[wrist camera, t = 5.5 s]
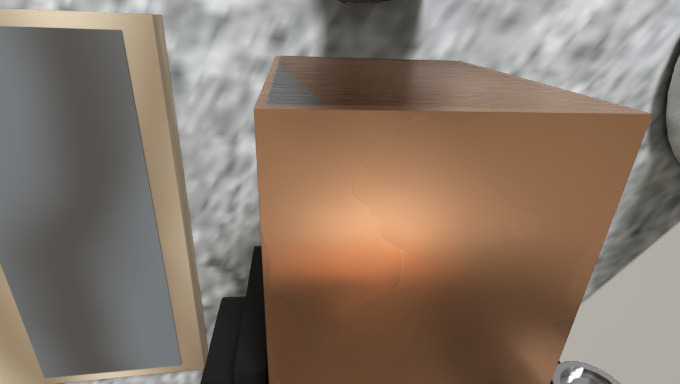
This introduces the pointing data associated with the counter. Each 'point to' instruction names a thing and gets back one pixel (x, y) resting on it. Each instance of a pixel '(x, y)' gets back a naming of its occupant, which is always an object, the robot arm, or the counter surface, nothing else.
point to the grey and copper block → (429, 218)
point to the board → (92, 203)
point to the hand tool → (362, 1)
